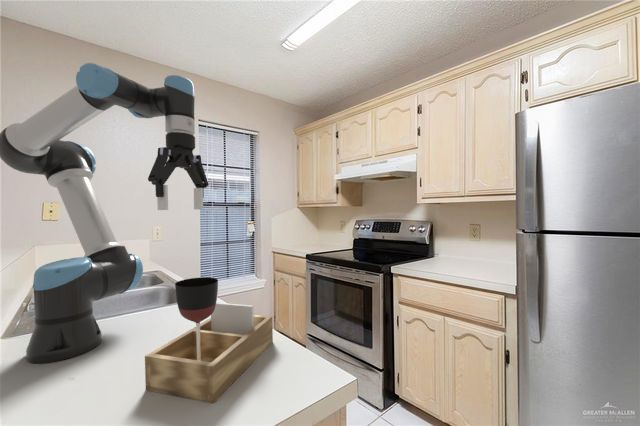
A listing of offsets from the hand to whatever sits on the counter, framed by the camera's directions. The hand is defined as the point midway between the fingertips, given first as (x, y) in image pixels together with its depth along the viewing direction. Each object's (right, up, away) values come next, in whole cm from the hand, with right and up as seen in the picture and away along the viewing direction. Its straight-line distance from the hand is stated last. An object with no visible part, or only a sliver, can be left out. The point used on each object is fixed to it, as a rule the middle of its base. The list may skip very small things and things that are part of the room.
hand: (182, 209), depth 83 cm
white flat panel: (+17, -35, -7) cm, 40 cm away
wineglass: (+13, -36, -20) cm, 43 cm away
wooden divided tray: (+15, -37, -13) cm, 42 cm away
